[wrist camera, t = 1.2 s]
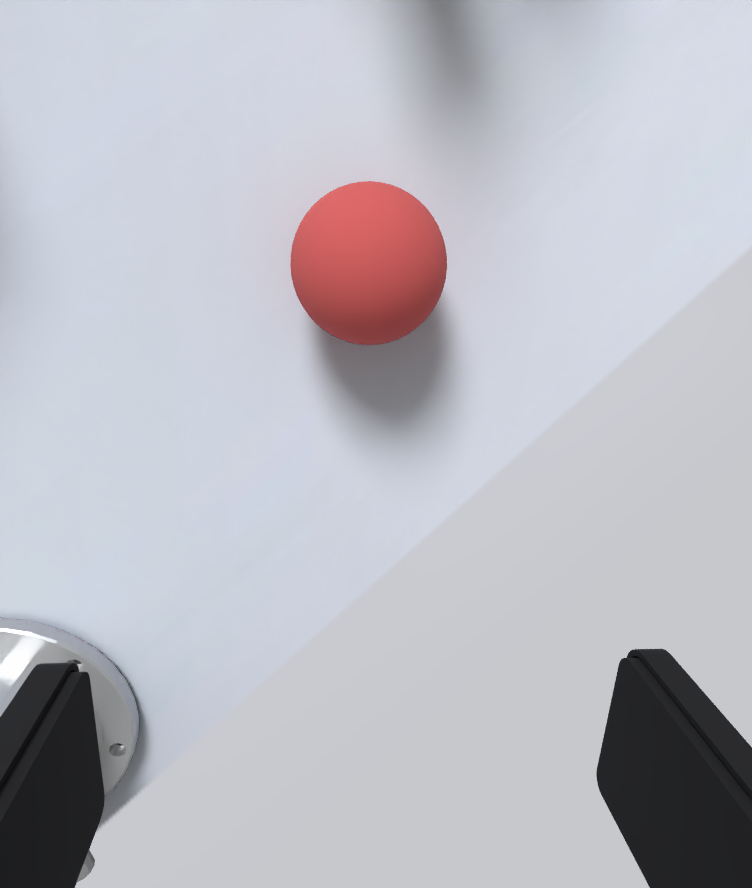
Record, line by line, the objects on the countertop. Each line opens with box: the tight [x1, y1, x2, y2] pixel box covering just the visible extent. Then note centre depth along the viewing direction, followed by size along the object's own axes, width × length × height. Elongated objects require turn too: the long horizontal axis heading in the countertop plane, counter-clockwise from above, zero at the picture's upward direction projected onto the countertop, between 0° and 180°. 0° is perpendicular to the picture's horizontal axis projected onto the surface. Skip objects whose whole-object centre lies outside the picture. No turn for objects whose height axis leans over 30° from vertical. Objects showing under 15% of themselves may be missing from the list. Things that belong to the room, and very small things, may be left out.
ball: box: [291, 181, 447, 345], centre depth 23 cm, size 6×6×6 cm
